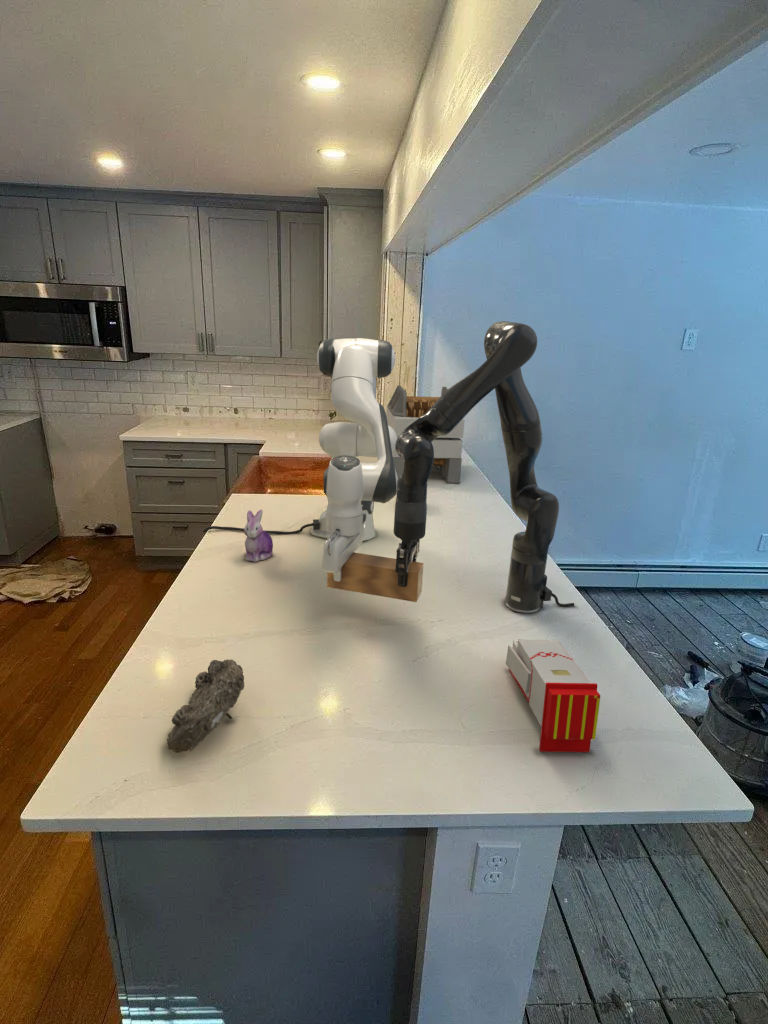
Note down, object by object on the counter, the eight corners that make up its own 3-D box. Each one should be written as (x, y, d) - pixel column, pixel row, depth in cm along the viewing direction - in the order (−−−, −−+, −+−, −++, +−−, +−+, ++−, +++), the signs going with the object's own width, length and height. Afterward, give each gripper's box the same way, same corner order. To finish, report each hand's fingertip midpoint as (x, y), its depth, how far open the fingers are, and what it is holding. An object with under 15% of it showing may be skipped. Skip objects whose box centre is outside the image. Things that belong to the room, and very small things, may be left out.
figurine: (248, 564, 171) (246, 518, 166) (239, 551, 179) (237, 507, 174) (278, 559, 175) (277, 514, 170) (269, 547, 183) (267, 503, 178)
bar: (326, 587, 142) (327, 558, 140) (335, 576, 148) (335, 549, 145) (416, 602, 137) (418, 573, 134) (421, 591, 142) (423, 562, 140)
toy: (554, 622, 128) (610, 691, 98) (548, 677, 130) (601, 759, 101) (501, 621, 127) (541, 690, 98) (496, 676, 130) (534, 758, 101)
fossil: (192, 660, 117) (244, 628, 112) (224, 691, 120) (276, 661, 115) (142, 746, 98) (202, 712, 93) (182, 779, 101) (242, 748, 96)
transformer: (382, 463, 289) (386, 382, 275) (445, 464, 293) (451, 384, 279) (390, 482, 257) (394, 392, 243) (460, 483, 261) (468, 394, 247)
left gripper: (341, 540, 128) (340, 594, 133) (368, 511, 147) (367, 559, 152) (315, 536, 130) (315, 590, 135) (345, 508, 148) (344, 556, 153)
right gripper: (419, 529, 126) (415, 594, 131) (432, 509, 139) (427, 569, 144) (386, 524, 128) (384, 589, 133) (402, 505, 140) (399, 564, 146)
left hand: (343, 573), depth 143 cm, fingers closed on bar, 6 cm apart
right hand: (406, 578), depth 139 cm, fingers open, 8 cm apart
